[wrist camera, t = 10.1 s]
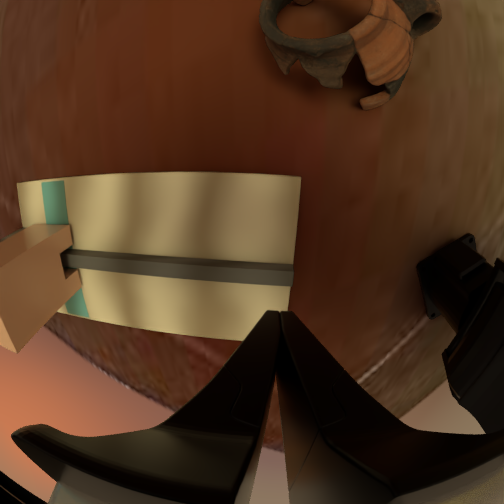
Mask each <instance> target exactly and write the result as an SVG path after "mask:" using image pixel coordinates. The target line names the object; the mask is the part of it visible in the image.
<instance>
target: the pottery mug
mask: <svg viewBox="0 0 504 504" xmlns="http://www.w3.org/2000/svg"><path fill="white" fill-rule="evenodd" d="M292 1H293V2H295V3H297V4H300V5H303V6H304V5H307V4H308V3H309V2H311V1H312V0H263V1H262V3H261V7H260V15H259V23H260V25H261V28H262V31H263V32H264V34H265V41H266V44H267V46H268V48H269V50H270V51H271V53H272V55H273V56H274V58H275V60H276V62H277V64H278V66H279V67H280V69H281V70H282V72H283V73H284V74H285V75H287V74H289V71H290V67H291V66H292V65H293V64H294V63H295V62H296V60H297V59H299V60H300V62H301V65H302V67H303V68H304V69H305V70H306V72H307V73H308V74H310V75H311V76H313V77H315V78H316V79H318V81H319V82H320V84H321V85H322V86H324V87H327V88H334V89H340V88H342V87H343V80H342V75H343V74H344V73H345V71H346V69H347V66H348V64H349V62H350V61H351V59H352V58H353V56H354V55H355V54H357V55H358V57H359V59H360V61H361V63H362V65H363V67H364V70H365V75H366V79H367V81H368V82H370V83H371V84H372V85H375V86H379V85H382V84H384V85H385V87H386V89H385V90H384V91H382V92H379V93H377V94H374V95H372V96H368V97H365V98H361V99H360V105H361V107H362V109H363V110H369V109H373V108H376V107H379V106H381V105H383V104H384V103H386V102H387V101H389V100H390V99H391V98H392V97H393V96H394V95H395V94H396V93H397V91H398V90H399V88H400V86H401V83H402V81H403V80H404V78H405V75H406V73H407V71H408V68H409V66H410V63H411V60H412V56H413V50H414V41H413V40H414V39H415V38H416V37H418V36H420V35H423V34H424V33H427V32H428V31H430V30H432V29H433V28H434V27H436V26H437V25H438V24H439V22H440V21H441V19H442V14H441V8H440V5H439V3H438V2H437V1H436V0H372V6H371V9H370V11H369V13H368V15H367V16H366V17H365V18H364V19H363V20H362V21H361V22H360V23H359V24H357V25H356V26H354V27H353V28H351V29H349V30H348V31H347V32H346V33H341V34H338V35H335V36H331V37H327V38H320V39H302V38H296V37H290V36H288V35H286V34H284V33H283V32H282V31H280V30H279V28H278V26H277V24H276V18H277V14H278V13H279V11H280V10H281V9H282V8H284V7H285V6H286V5H287V4H289V3H291V2H292Z"/></svg>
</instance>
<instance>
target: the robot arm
mask: <svg viewBox="0 0 504 504" xmlns="http://www.w3.org/2000/svg"><path fill="white" fill-rule="evenodd" d="M469 239H470V241H469ZM494 264H495V266H494V267H493V266H491V265H490V264H489V263H488V262H486V259H485V258H484V257H483V256H481V255H480V254H479V253H477V251H476V243H475V237H474V236H473V235H472V234H470V233H469V234H467V235H465V236H464V237H462V238H460V239H459V240H456V241H455V242H453V243H451V244H450V245H448V246H446V247H445V248H443V249H441V250H440V251H438V252H437V253H435V254H434V255H432V256H430V257H428V258H427V259H425V260H423V261H421V262H420V263H419V264H418V265H417V272H418V276H419V280H420V284H421V288H422V293H423V297H424V302H425V307H426V312H427V316H428V317H429V319H434V318H436V317H438V316H439V315H441V314H442V315H443V316H444V318H445V319H446V320H447V322H448V323H449V324H450V326H451V327H452V328H453V330H454V331H455V332H456V336H455V337H454V339H453V340H452V342H451V343H450V345H449V346H448V348H447V349H445V350H444V352H443V353H442V358H443V362H444V366H445V370H446V374H447V379H448V383H449V387H450V390H451V393H452V396H453V397H454V398H455V399H456V400H457V401H458V403H459V405H461V406H462V407H464V408H465V409H466V410H468V411H469V412H470V413H471V414H472V415H473V416H474V417H475V418H476V420H477V421H478V423H479V424H480V425H481V427H482V428H483V430H484V431H485V433H486V434H481V435H480V434H478V435H473V434H453V433H441V432H431V431H422V430H417V429H414V428H412V427H409V426H408V425H406V424H404V423H403V422H401V421H400V420H399V419H398V418H396V417H395V416H394V415H393V414H392V413H391V412H389V411H388V410H387V409H386V408H385V407H383V406H382V405H381V404H380V403H379V402H377V401H376V400H375V399H374V398H373V397H372V396H371V395H369V394H368V393H367V392H366V391H365V390H364V389H363V388H362V387H361V386H360V385H359V384H358V383H357V382H356V381H355V380H354V379H353V378H352V377H351V376H350V375H349V374H348V373H347V371H346V370H344V368H343V367H342V366H341V365H340V364H339V363H338V362H337V361H336V359H335V358H334V357H333V356H332V355H331V354H330V353H329V352H328V351H327V349H326V348H325V347H324V346H323V345H322V344H321V343H320V342H319V341H318V339H317V338H316V337H315V336H314V335H313V334H312V333H311V332H310V331H309V329H308V328H307V327H306V326H305V325H304V324H303V323H302V322H301V320H300V319H299V318H298V317H297V316H296V315H295V314H294V313H293V312H292V311H280V313H279V311H277V310H267V311H266V312H265V313H264V314H263V316H262V317H261V318H260V320H259V321H258V322H257V323H256V325H255V326H254V327H253V329H252V330H251V331H250V333H249V334H248V335H247V336H246V338H245V339H244V340H243V341H242V343H241V344H240V345H239V347H238V348H237V349H236V350H235V352H234V353H233V354H232V355H231V357H230V358H229V359H228V360H227V362H226V363H225V364H224V366H223V367H222V368H221V369H220V370H219V371H218V373H217V374H216V375H215V376H214V377H213V378H212V379H211V381H210V382H209V383H208V384H207V385H206V386H205V387H204V388H203V389H202V390H201V391H199V392H198V393H197V394H196V395H195V396H194V397H193V398H192V399H190V400H189V401H188V402H187V403H186V404H185V405H184V406H182V407H181V408H180V409H179V410H178V411H176V412H175V413H174V414H173V415H172V416H170V417H169V418H168V419H167V420H165V421H164V422H162V423H161V424H159V425H157V426H155V427H153V428H150V429H146V430H140V431H134V432H128V433H121V434H114V435H106V436H97V437H80V436H74V435H69V434H67V433H64V432H61V431H59V430H57V429H55V428H53V427H51V426H48V425H45V424H38V425H29V426H25V427H22V428H20V429H18V430H16V431H15V432H13V433H12V434H11V438H12V440H13V441H14V442H15V444H16V445H17V446H18V447H19V448H20V449H21V450H22V451H23V452H24V453H25V454H26V455H27V456H28V457H29V458H30V459H31V460H32V461H33V462H34V463H35V464H37V465H38V466H39V467H40V468H41V469H42V470H43V471H45V472H46V473H47V474H48V475H49V476H50V477H52V478H53V479H54V480H55V481H56V482H57V483H56V485H55V488H54V490H53V492H52V495H51V497H50V500H49V502H48V503H46V502H45V501H43V500H42V499H40V498H38V497H37V496H35V495H33V494H32V493H31V492H29V491H27V490H26V489H25V488H23V487H22V486H20V485H19V484H17V483H16V482H15V481H13V480H12V479H10V478H9V477H8V476H7V475H5V474H4V473H3V472H1V471H0V504H249V501H250V497H251V492H252V488H253V484H254V479H255V475H256V471H257V467H258V462H259V457H260V453H261V448H262V443H263V439H264V434H265V429H266V424H267V419H268V414H269V409H270V403H271V398H272V393H273V387H274V382H275V375H276V380H277V389H278V398H279V407H280V416H281V425H282V434H283V443H284V452H285V462H286V471H287V481H288V490H289V500H290V504H504V261H503V260H501V259H499V258H497V259H496V261H495V263H494ZM423 266H424V268H423V269H421V268H422V267H423ZM432 313H433V314H432ZM431 314H432V315H431Z"/></svg>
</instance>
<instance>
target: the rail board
mask: <svg viewBox="0 0 504 504" xmlns="http://www.w3.org/2000/svg"><path fill="white" fill-rule="evenodd" d="M300 186H301V177H300V176H288V175H274V174H257V173H234V172H134V173H113V174H96V175H83V176H71V177H61V178H51V179H43V180H34V181H27V182H20V183H17V188H18V197H19V205H20V212H21V218H22V224H23V228H21V229H19V230H17V231H15V232H13V233H12V234H10V235H8V236H6V237H4V238H3V239H1V240H0V242H2V241H4V240H6V239H7V238H9V237H11V236H13V235H14V234H16V233H18V232H20V231H22V230H24V229H25V228H27V227H29V226H31V225H33V224H51V225H70V232H71V238H72V244H73V245H71V246H70V247H69V248H67V249H66V250H64V251H63V252H61V253H60V258H61V263H62V267H63V268H69V269H77V270H78V274H79V278H80V282H81V286H82V287H81V288H80V289H79V290H78V291H77V292H76V293H75V294H74V295H73V296H72V297H71V298H70V299H69V300H68V301H67V302H66V303H65V304H64V305H63V306H62V307H61V308H60V309H59V310H58V311H57V312H61V313H65V314H69V315H74V316H78V317H83V318H87V319H92V320H97V321H102V322H107V323H112V324H117V325H123V326H129V327H134V328H141V329H147V330H153V331H160V332H167V333H174V334H182V335H190V336H199V337H208V338H218V339H229V340H240V341H243V340H244V339H245V338H246V336H247V335H248V334H249V333H250V331H251V330H252V329H253V327H254V326H255V325H256V323H257V322H258V321H259V320H260V318H261V317H262V316H263V314H264V313H265V312H266V311H267V310H277V311H279V313H280V311H287V310H288V302H289V294H290V287H292V285H293V277H294V268H293V260H294V250H295V241H296V231H297V220H298V210H299V198H300Z"/></svg>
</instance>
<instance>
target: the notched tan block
mask: <svg viewBox="0 0 504 504" xmlns="http://www.w3.org/2000/svg"><path fill="white" fill-rule="evenodd" d="M71 245H73V244H72V238H71V232H70V225H51V224H33V225H31V226H29V227H27V228H25V229H24V230H22V231H20V232H18V233H16V234H14V235H13V236H11V237H9V238H7V239H6V240H4V241H2V242H0V345H1V346H3V347H5V348H7V349H9V350H11V351H13V352H15V353H19V352H20V350H21V349H22V348H23V347H24V346H25V344H26V343H28V341H29V340H30V339H31V338H32V337H33V336H34V335H35V334H36V333H37V332H38V331H39V329H40V328H41V327H42V326H43V325H44V324H45V323H46V322H47V321H48V320H49V319H50V318H51V317H52V316H53V315H54V314H55V313H56V312H57V311H58V310H59V309H60V308H61V307H62V306H63V305H64V304H65V303H66V302H67V301H68V300H69V299H70V298H71V297H72V296H73V295H74V294H75V293H76V292H77V291H78V290H79V289H80V288H81V287H82V286H81V282H80V278H79V274H78V270H77V269H69V268H63V267H62V263H61V258H60V253H61V252H63V251H64V250H66V249H67V248H69V247H70V246H71Z"/></svg>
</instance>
